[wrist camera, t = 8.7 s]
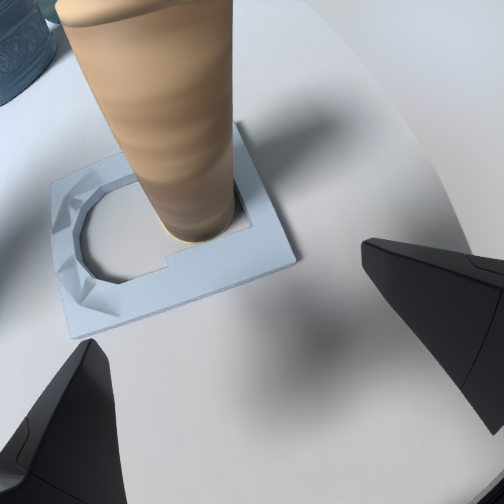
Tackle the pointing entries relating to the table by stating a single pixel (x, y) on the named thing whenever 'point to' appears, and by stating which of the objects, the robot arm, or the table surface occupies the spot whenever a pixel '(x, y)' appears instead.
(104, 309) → the keyhole plate
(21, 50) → the canister
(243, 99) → the table surface
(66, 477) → the robot arm
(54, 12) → the flower pot
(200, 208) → the tan peg
